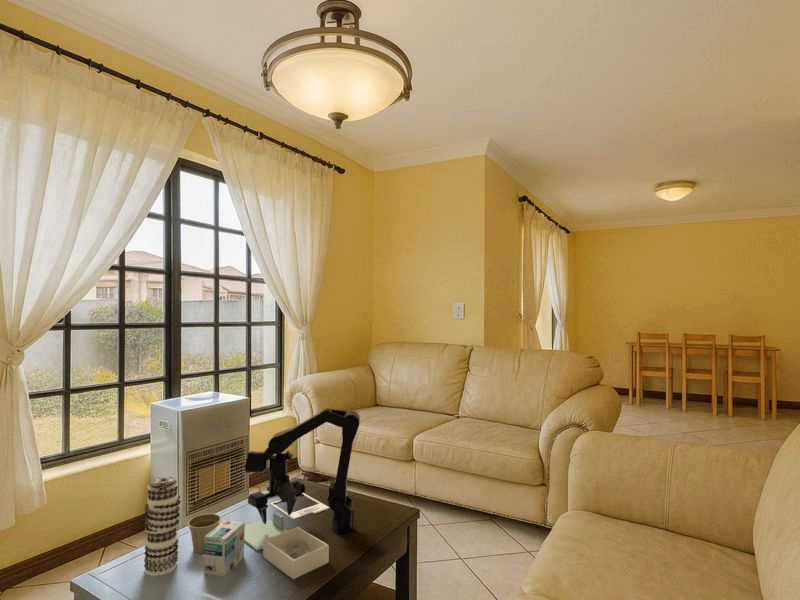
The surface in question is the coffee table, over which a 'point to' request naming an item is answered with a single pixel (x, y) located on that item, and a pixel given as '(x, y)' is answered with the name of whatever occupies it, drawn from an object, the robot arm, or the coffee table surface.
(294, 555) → the steel block
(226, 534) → the light bulb box
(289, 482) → the robot arm
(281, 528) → the lid
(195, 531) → the flower pot
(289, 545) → the steel block
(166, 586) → the coffee table surface
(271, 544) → the tub
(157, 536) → the white patterned cylinder
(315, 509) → the photo frame
